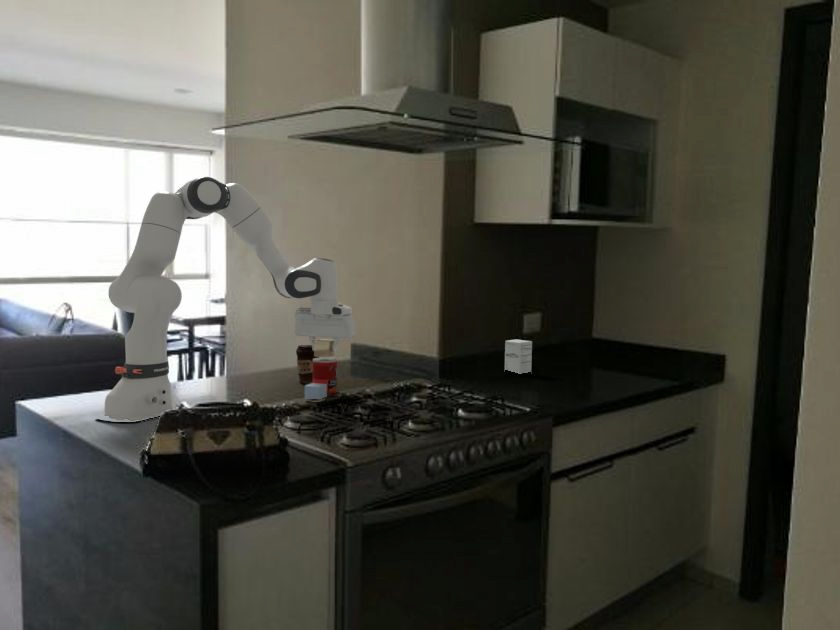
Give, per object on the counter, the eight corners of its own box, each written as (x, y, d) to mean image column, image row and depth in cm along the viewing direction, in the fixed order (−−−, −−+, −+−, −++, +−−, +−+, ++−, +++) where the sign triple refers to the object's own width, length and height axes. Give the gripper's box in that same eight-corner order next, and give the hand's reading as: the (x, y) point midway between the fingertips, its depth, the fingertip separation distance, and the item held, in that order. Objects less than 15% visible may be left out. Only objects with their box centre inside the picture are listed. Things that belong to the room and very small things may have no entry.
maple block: (328, 357, 240) (328, 341, 240) (314, 356, 242) (314, 341, 241) (334, 355, 245) (334, 339, 245) (320, 354, 247) (320, 339, 246)
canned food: (333, 395, 240) (332, 361, 239) (309, 394, 242) (309, 360, 241) (340, 390, 247) (340, 357, 246) (317, 389, 249) (317, 356, 248)
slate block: (319, 403, 228) (319, 386, 228) (304, 402, 230) (304, 385, 229) (326, 400, 233) (326, 384, 232) (312, 398, 234) (311, 383, 234)
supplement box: (503, 374, 280) (504, 340, 279) (516, 371, 285) (517, 338, 284) (519, 376, 275) (519, 342, 274) (532, 374, 280) (532, 340, 279)
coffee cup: (313, 385, 256) (312, 347, 255) (291, 383, 259) (291, 346, 258) (324, 381, 264) (324, 344, 263) (303, 379, 267) (303, 343, 266)
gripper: (290, 308, 242) (291, 350, 243) (349, 310, 236) (349, 353, 237) (299, 306, 248) (300, 348, 249) (357, 308, 242) (357, 351, 243)
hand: (324, 350), depth 243 cm, fingers closed on maple block, 5 cm apart
